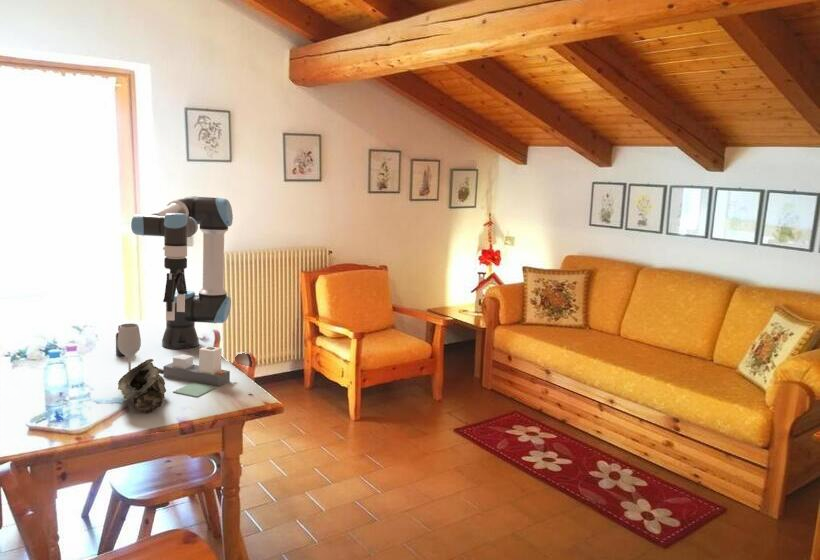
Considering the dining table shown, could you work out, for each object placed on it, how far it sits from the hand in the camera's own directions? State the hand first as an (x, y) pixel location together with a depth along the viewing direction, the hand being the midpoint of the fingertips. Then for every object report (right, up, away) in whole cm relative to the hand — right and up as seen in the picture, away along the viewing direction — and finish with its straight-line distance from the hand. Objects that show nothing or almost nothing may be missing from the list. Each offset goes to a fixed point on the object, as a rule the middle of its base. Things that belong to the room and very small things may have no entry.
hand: (175, 315), depth 230 cm
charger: (+10, -22, +6) cm, 25 cm away
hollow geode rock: (-4, -28, -18) cm, 34 cm away
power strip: (+1, -24, +10) cm, 26 cm away
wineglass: (-17, -24, +1) cm, 30 cm away
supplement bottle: (-32, -18, +32) cm, 49 cm away
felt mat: (+8, -26, -3) cm, 27 cm away
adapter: (-1, -21, +10) cm, 23 cm away
